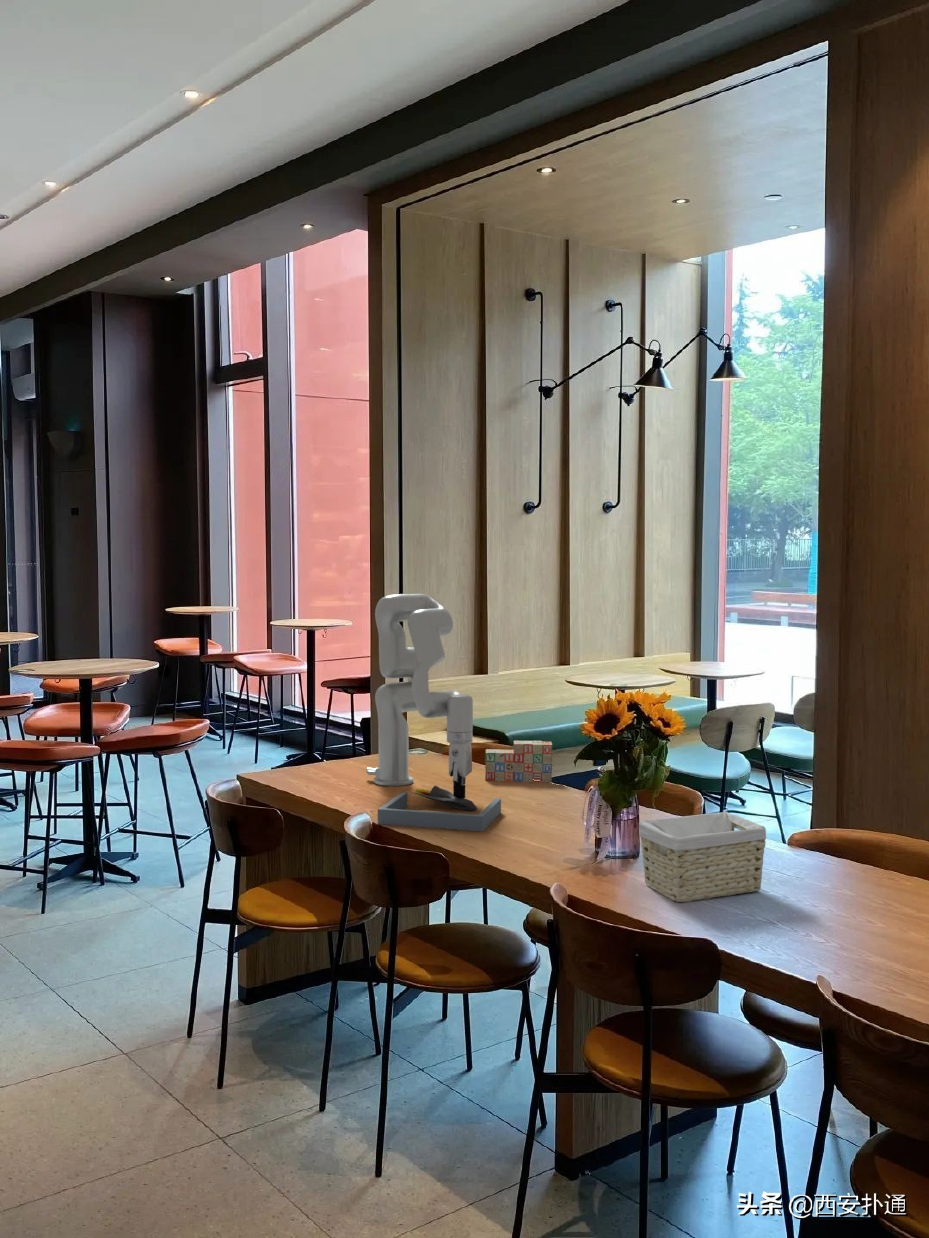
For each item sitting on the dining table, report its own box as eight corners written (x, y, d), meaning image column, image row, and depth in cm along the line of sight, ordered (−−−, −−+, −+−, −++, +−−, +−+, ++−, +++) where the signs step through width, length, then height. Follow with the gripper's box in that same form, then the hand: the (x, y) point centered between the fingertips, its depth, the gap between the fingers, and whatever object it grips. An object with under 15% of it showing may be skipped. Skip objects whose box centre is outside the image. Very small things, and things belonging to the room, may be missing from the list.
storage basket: (673, 906, 230) (674, 837, 229) (634, 883, 245) (635, 818, 244) (768, 893, 239) (770, 827, 238) (725, 873, 254) (727, 810, 253)
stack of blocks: (484, 781, 351) (485, 743, 350) (485, 777, 357) (485, 739, 356) (552, 782, 350) (552, 744, 349) (551, 778, 356) (551, 740, 355)
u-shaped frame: (377, 823, 296) (377, 809, 296) (402, 805, 317) (402, 791, 317) (482, 831, 289) (482, 816, 288) (501, 812, 309) (501, 798, 309)
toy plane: (394, 795, 321) (398, 777, 321) (434, 800, 333) (438, 783, 333) (454, 814, 303) (458, 796, 303) (495, 819, 315) (498, 800, 315)
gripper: (465, 741, 312) (465, 805, 313) (478, 733, 327) (477, 793, 328) (440, 740, 314) (440, 803, 315) (453, 731, 328) (453, 792, 330)
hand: (459, 798), depth 322 cm, fingers closed
